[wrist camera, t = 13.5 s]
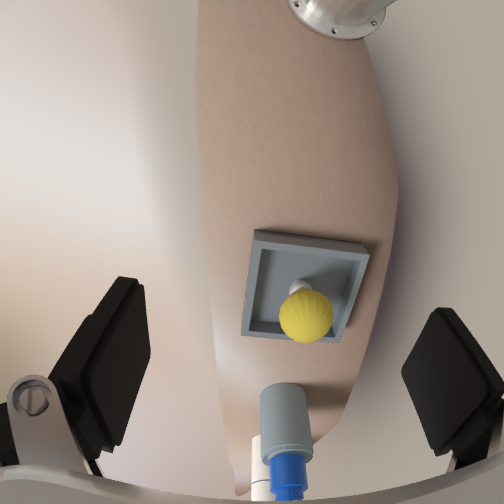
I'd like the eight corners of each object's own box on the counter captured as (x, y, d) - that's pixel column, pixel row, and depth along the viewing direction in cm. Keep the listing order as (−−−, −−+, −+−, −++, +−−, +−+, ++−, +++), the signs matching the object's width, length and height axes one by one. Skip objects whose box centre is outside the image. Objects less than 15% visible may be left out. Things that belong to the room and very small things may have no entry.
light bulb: (266, 294, 43) (269, 342, 34) (293, 257, 40) (303, 300, 31) (305, 313, 44) (315, 360, 35) (332, 279, 42) (350, 323, 33)
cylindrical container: (287, 436, 62) (293, 529, 39) (273, 448, 65) (275, 534, 42) (260, 431, 61) (260, 528, 38) (247, 443, 63) (245, 533, 41)
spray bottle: (274, 377, 52) (281, 504, 29) (314, 389, 54) (332, 506, 31) (251, 402, 55) (250, 516, 33) (289, 412, 57) (298, 519, 35)
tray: (254, 229, 40) (254, 240, 37) (361, 243, 40) (369, 254, 37) (241, 320, 46) (240, 335, 43) (334, 328, 47) (339, 342, 44)
